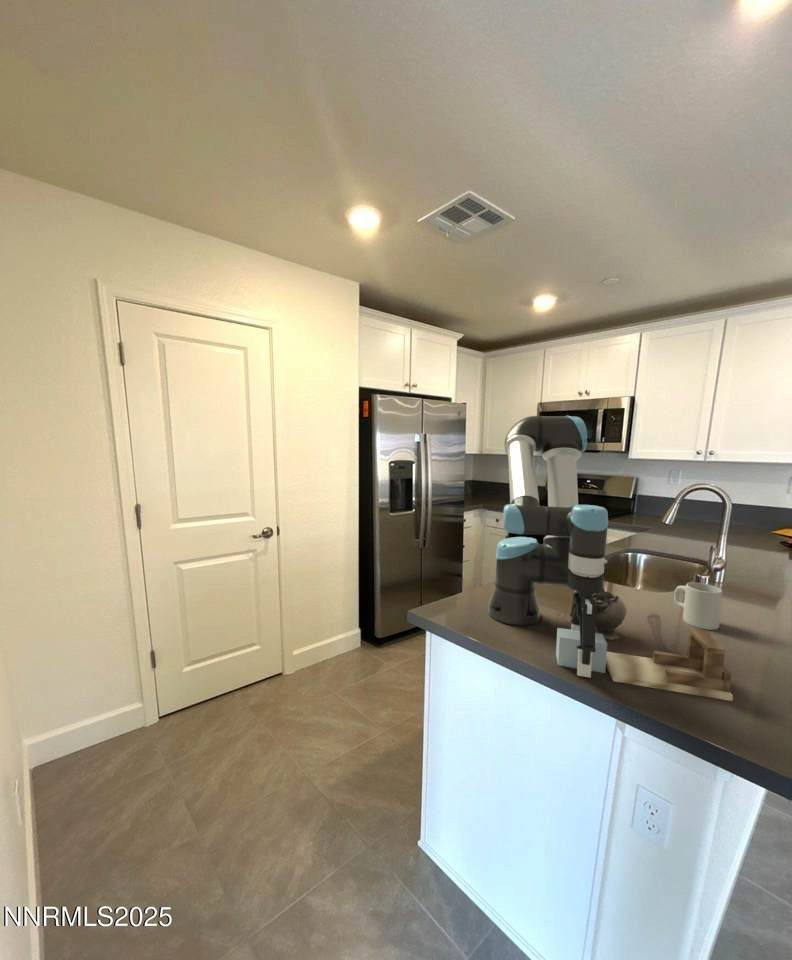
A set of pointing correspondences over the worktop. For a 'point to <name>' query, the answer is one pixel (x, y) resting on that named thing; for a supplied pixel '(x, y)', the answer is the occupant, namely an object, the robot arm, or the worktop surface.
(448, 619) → the worktop surface
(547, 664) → the worktop surface
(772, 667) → the worktop surface
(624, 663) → the rail board
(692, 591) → the mug
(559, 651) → the pale blue tall block
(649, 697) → the worktop surface
